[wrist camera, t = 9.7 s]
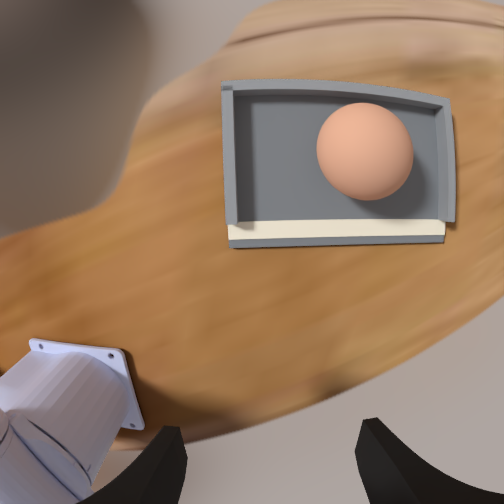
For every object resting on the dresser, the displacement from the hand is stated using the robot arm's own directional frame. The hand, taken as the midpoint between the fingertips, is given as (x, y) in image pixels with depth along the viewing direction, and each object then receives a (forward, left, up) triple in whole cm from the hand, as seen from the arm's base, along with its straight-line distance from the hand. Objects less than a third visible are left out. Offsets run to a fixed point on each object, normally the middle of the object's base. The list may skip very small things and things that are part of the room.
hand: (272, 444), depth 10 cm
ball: (+5, +11, -6) cm, 14 cm away
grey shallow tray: (+5, +11, -9) cm, 15 cm away
